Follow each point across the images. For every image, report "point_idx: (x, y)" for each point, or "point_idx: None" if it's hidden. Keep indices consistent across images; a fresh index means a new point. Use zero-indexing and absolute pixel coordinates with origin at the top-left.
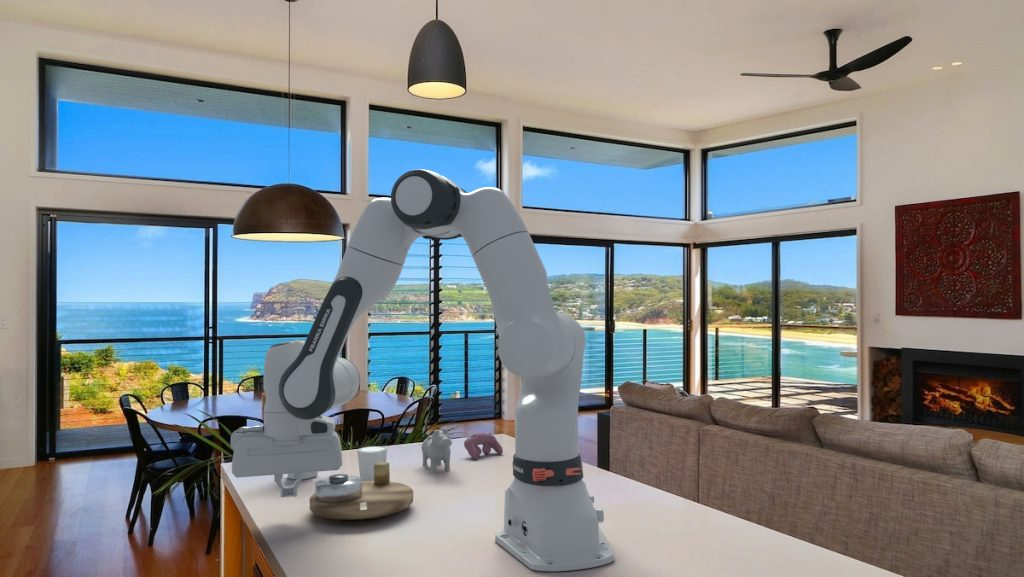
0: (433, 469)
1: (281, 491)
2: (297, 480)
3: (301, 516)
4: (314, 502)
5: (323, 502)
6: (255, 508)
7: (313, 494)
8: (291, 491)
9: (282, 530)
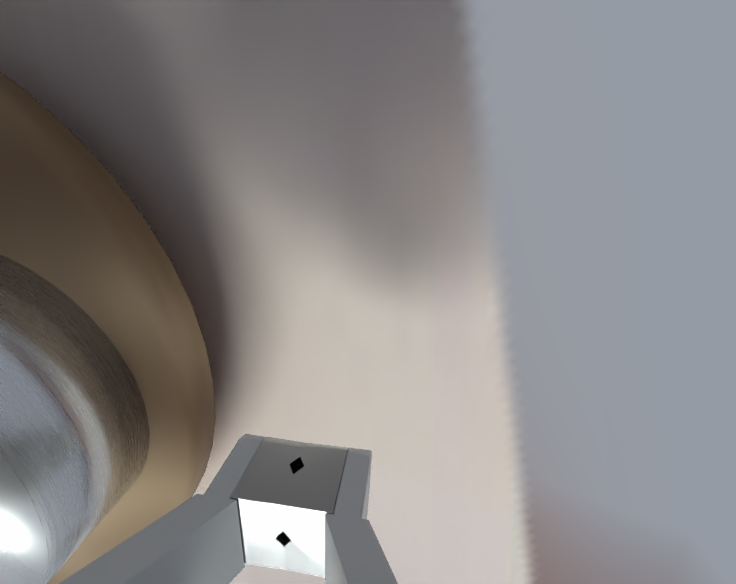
0: None
1: (356, 488)
2: (135, 569)
3: (279, 362)
4: (126, 328)
5: (49, 287)
6: (511, 557)
7: (176, 495)
8: (266, 469)
9: (370, 140)
